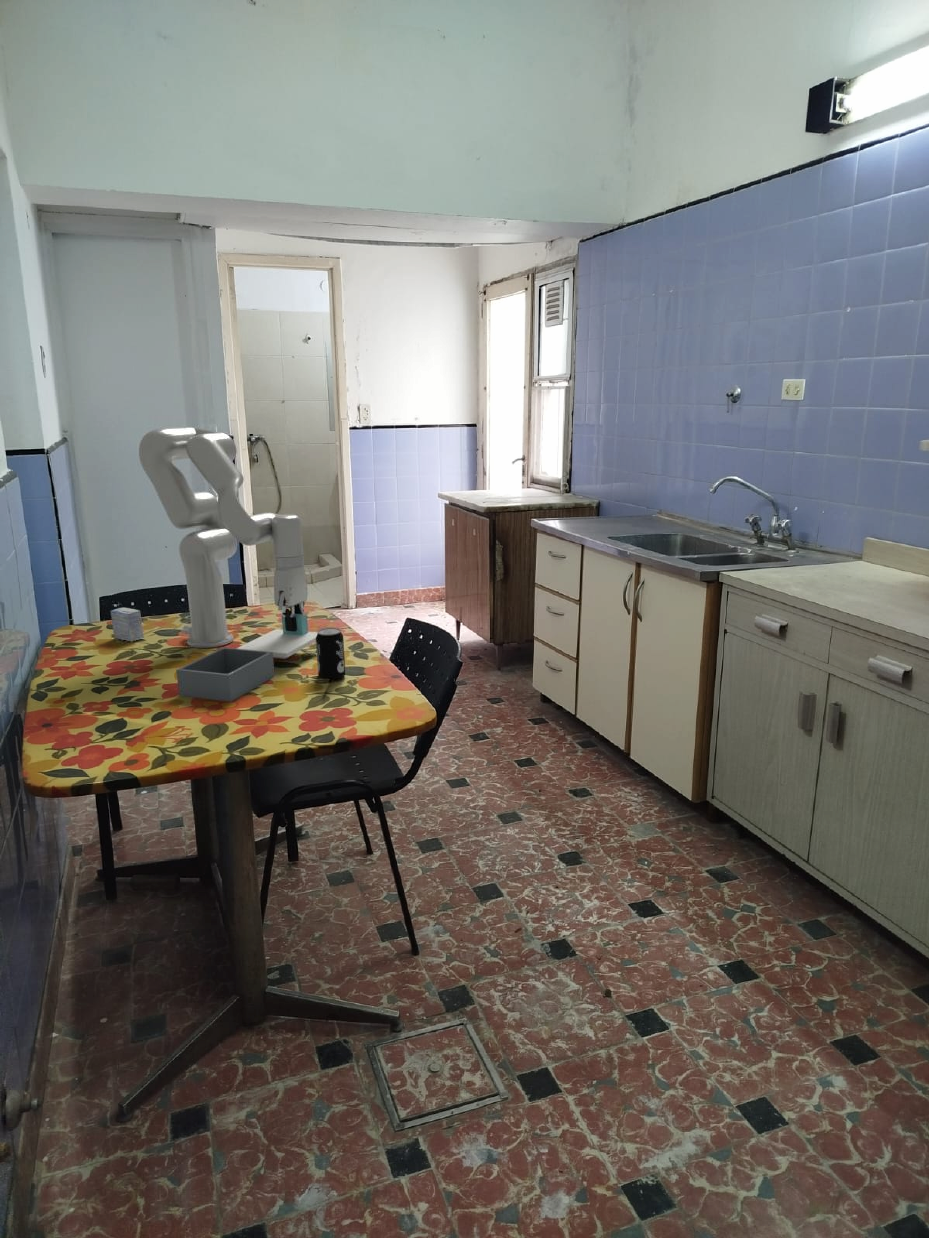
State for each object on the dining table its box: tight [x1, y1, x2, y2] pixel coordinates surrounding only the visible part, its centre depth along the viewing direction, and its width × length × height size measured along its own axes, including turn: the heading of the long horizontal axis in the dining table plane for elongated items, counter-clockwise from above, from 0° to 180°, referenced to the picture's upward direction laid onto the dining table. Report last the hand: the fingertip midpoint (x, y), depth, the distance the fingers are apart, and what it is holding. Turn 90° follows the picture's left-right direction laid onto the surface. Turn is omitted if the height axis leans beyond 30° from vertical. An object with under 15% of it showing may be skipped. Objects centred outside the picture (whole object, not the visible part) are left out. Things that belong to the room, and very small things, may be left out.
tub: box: [175, 646, 276, 703], centre depth 193 cm, size 14×18×7 cm
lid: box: [235, 613, 318, 659], centre depth 213 cm, size 15×19×7 cm
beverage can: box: [315, 627, 346, 682], centre depth 198 cm, size 7×7×12 cm
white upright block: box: [110, 607, 145, 642], centre depth 235 cm, size 8×4×9 cm, turn 58°
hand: (294, 628), depth 220 cm, fingers closed on lid, 3 cm apart
